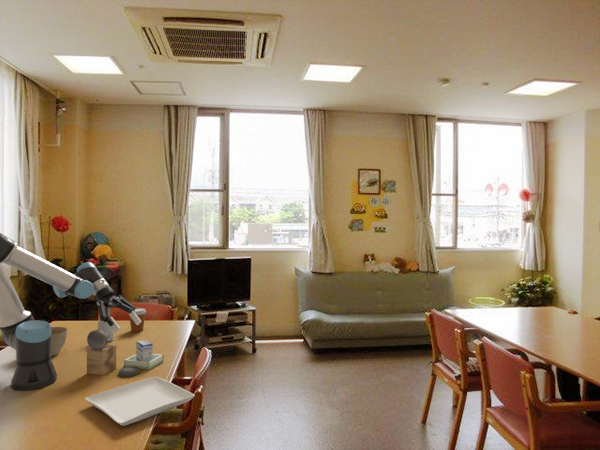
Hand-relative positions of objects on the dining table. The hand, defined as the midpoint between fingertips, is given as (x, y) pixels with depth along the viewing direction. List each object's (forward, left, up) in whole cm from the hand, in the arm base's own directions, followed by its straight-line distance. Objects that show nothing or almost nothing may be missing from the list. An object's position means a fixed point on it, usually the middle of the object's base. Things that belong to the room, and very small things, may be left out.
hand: (129, 326), depth 185 cm
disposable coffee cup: (+45, +31, -16) cm, 57 cm away
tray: (+1, -7, -16) cm, 18 cm away
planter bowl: (-1, +45, -16) cm, 48 cm away
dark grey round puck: (-10, -8, -16) cm, 21 cm away
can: (+24, +34, -16) cm, 44 cm away
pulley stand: (-11, +5, -16) cm, 20 cm away
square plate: (-33, -32, -17) cm, 49 cm away
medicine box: (+1, -7, -15) cm, 17 cm away
